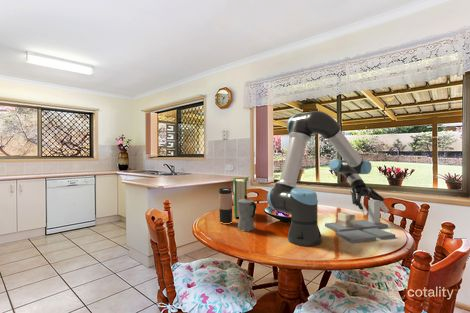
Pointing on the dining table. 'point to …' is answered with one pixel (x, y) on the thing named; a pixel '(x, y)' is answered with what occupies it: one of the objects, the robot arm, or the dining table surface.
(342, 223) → the birch cube
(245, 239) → the dining table surface
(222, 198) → the travel mug
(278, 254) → the dining table surface
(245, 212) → the coffeepot
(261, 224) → the dining table surface
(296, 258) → the dining table surface
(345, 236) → the broken strip
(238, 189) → the hardback book
